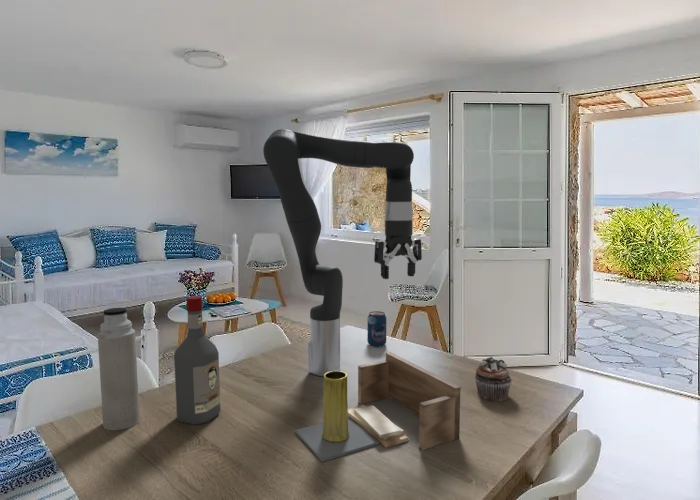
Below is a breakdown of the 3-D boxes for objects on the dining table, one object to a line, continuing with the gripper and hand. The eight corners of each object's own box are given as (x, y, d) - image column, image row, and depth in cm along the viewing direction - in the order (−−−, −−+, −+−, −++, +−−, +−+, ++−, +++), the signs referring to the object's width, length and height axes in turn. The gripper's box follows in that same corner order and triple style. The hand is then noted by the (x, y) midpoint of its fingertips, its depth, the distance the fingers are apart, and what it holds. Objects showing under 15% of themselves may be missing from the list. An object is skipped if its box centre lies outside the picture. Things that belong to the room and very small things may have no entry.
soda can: (373, 349, 169) (373, 316, 167) (364, 343, 175) (364, 312, 174) (389, 346, 172) (390, 314, 171) (380, 341, 178) (380, 310, 177)
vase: (350, 429, 109) (350, 370, 107) (347, 443, 103) (347, 380, 101) (324, 428, 109) (323, 369, 108) (320, 442, 103) (319, 379, 102)
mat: (321, 461, 97) (321, 459, 97) (295, 432, 109) (295, 430, 109) (379, 444, 104) (379, 441, 103) (347, 418, 116) (347, 416, 116)
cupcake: (468, 395, 129) (469, 360, 128) (484, 385, 136) (485, 351, 135) (501, 406, 123) (502, 368, 121) (516, 394, 130) (518, 359, 129)
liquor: (171, 420, 115) (165, 299, 111) (196, 405, 123) (191, 292, 120) (201, 427, 111) (197, 302, 108) (225, 410, 120) (221, 295, 117)
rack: (396, 459, 98) (396, 403, 96) (334, 408, 121) (334, 363, 120) (459, 438, 106) (460, 386, 105) (390, 394, 130) (390, 352, 129)
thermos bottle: (121, 412, 119) (115, 304, 116) (147, 417, 116) (141, 306, 113) (95, 427, 111) (87, 311, 108) (121, 432, 109) (115, 314, 106)
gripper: (411, 217, 135) (410, 273, 136) (369, 218, 128) (369, 277, 129) (428, 218, 128) (427, 277, 130) (384, 219, 121) (384, 281, 123)
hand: (398, 277), depth 130 cm, fingers open, 8 cm apart
